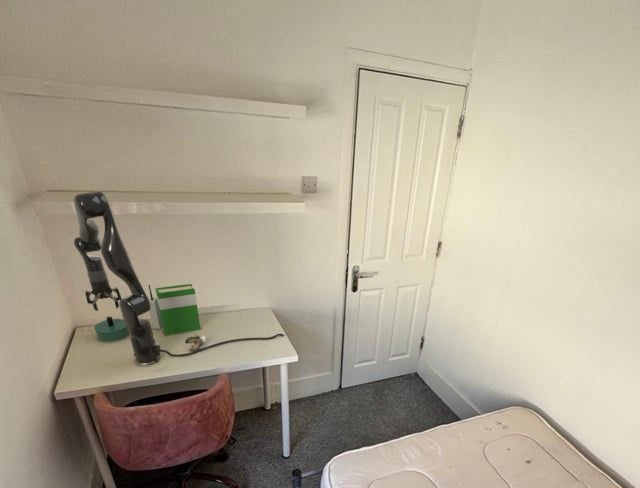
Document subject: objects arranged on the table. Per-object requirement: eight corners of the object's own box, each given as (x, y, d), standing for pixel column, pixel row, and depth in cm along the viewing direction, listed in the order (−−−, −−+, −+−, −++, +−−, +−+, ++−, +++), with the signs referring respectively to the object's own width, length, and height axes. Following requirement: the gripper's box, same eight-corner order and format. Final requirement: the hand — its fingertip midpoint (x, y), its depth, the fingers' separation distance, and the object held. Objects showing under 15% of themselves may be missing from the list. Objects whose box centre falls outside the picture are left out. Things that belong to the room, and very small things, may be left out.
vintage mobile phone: (163, 325, 215) (155, 282, 202) (160, 329, 211) (151, 286, 198) (157, 324, 215) (147, 282, 202) (153, 329, 211) (143, 286, 198)
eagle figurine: (191, 339, 202) (181, 344, 194) (198, 329, 200) (188, 334, 192) (203, 348, 203) (193, 354, 195) (210, 339, 201) (200, 344, 192)
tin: (131, 328, 210) (129, 319, 207) (128, 340, 198) (125, 331, 196) (101, 330, 205) (98, 321, 202) (96, 343, 194) (93, 334, 191)
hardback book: (197, 323, 220) (191, 283, 207) (200, 329, 215) (194, 288, 202) (163, 329, 211) (155, 288, 199) (166, 335, 206) (157, 293, 194)
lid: (129, 319, 207) (127, 310, 204) (126, 332, 196) (123, 322, 193) (97, 322, 202) (94, 312, 199) (92, 335, 191) (89, 325, 188)
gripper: (80, 282, 179) (90, 314, 188) (115, 279, 186) (124, 309, 194) (80, 277, 185) (90, 308, 193) (115, 274, 191) (123, 304, 200)
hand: (107, 309), depth 194 cm, fingers open, 8 cm apart
